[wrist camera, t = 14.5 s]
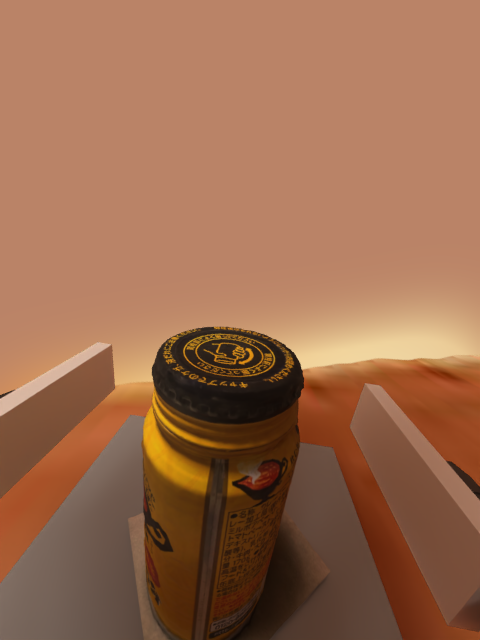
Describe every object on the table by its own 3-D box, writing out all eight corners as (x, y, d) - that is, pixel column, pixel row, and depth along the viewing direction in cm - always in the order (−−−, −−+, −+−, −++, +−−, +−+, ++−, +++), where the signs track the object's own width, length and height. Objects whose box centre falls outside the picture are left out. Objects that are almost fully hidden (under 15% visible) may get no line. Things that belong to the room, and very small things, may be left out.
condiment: (127, 521, 13) (115, 323, 9) (249, 459, 17) (276, 311, 13) (160, 763, 7) (164, 501, 3) (329, 575, 11) (414, 375, 8)
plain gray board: (329, 456, 20) (332, 447, 19) (575, 1184, 4) (607, 1199, 4) (131, 423, 20) (130, 414, 20) (-252, 948, 5) (-279, 944, 5)
